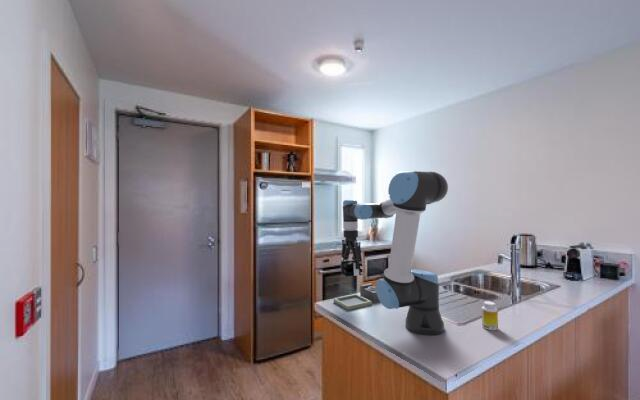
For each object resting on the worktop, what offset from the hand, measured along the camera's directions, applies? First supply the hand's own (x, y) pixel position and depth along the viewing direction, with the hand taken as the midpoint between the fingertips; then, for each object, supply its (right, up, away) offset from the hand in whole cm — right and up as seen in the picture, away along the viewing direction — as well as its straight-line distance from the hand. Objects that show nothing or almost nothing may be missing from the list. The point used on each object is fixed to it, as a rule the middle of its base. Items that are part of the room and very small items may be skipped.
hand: (351, 273), depth 149 cm
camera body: (+12, -15, +8) cm, 21 cm away
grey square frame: (0, -16, 0) cm, 16 cm away
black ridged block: (0, -1, 0) cm, 1 cm away
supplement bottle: (+53, -14, -32) cm, 63 cm away
